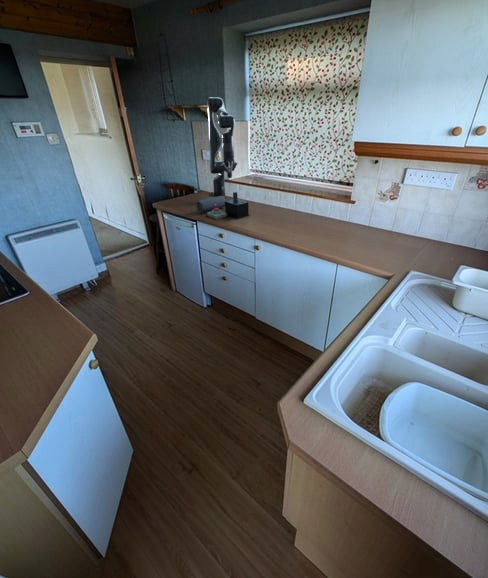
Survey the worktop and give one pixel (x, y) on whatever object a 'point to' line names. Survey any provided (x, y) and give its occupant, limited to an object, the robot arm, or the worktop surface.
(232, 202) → the toaster
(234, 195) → the slider
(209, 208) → the bluetooth speaker
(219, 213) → the button block
